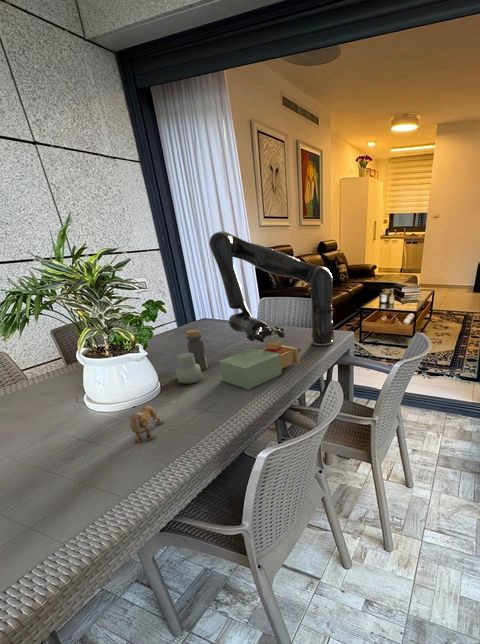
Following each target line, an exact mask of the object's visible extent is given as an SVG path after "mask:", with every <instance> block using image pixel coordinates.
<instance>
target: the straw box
mask: <svg viewBox="0 0 480 644" xmlns="http://www.w3.org/2000/svg"><path fill="white" fill-rule="evenodd" d="M281 345H282V341H281V340H272V339H271V340H269V341H268V342H266V343H265V349H266V351H268V352H272V353H276V354H280V355H281V354H282V346H281Z"/></svg>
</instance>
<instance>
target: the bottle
mask: <svg viewBox="0 0 480 644" xmlns="http://www.w3.org/2000/svg"><path fill="white" fill-rule="evenodd" d="M185 333H186V339H187V340H188V341H187V348H188V352H189V353H193V354H194V358H195V363H196V364H198V365H200V369H201V371H204V370H207V369H208V365H209V364H208V361H207V355H206V350H205V345H204V341H203V340H201V338H202V335H201V334H200V330H199V329H190V330H189V329H188V330H187V331H186V332H185Z"/></svg>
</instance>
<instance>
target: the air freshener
mask: <svg viewBox="0 0 480 644" xmlns="http://www.w3.org/2000/svg"><path fill="white" fill-rule="evenodd" d="M175 357H176V362H177V367H175V374H176V379H177V382H178V383H180V384H184V385H190V384H194V383H197V382H199V381H200V380H202V379H203V374H202V370H201V369H200V365H198V364H196V363H195V358H194V354H193V353H189V351H188V352H181V353H178V354H177V355H176V356H175Z"/></svg>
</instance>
